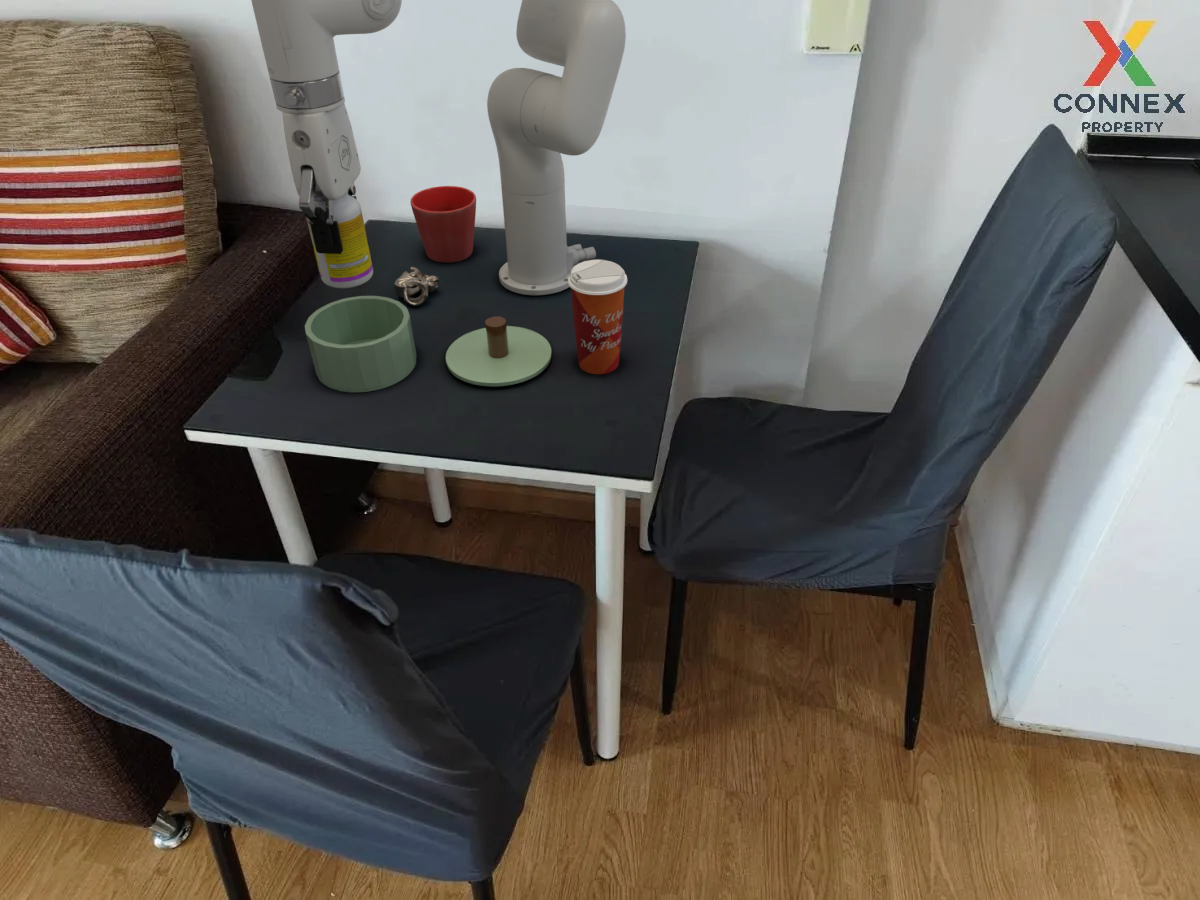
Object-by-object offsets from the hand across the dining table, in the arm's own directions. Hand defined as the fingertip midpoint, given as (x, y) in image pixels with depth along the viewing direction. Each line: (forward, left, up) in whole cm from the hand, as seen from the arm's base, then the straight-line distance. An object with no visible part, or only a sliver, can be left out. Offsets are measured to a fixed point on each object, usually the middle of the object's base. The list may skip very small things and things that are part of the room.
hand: (339, 238), depth 107 cm
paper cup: (-29, +14, -19) cm, 37 cm away
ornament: (-12, -16, -19) cm, 28 cm away
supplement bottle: (0, 0, -6) cm, 6 cm away
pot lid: (-17, +7, -18) cm, 26 cm away
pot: (0, 0, -19) cm, 19 cm away
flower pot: (-21, -28, -19) cm, 40 cm away
